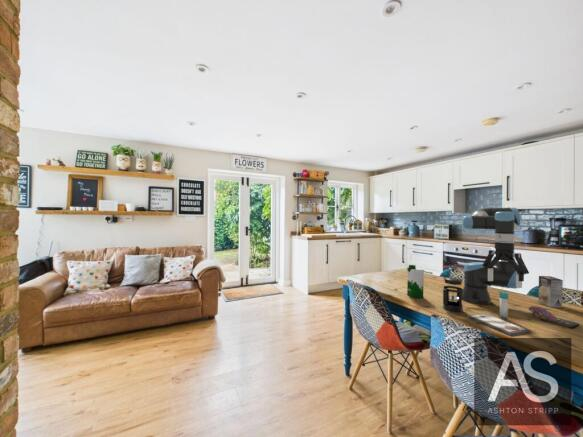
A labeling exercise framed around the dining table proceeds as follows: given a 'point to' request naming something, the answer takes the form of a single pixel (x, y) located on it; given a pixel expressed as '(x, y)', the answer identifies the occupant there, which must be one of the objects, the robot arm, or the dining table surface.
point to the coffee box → (550, 291)
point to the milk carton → (415, 281)
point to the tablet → (499, 324)
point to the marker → (503, 305)
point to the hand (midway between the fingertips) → (503, 284)
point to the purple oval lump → (545, 313)
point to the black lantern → (451, 304)
